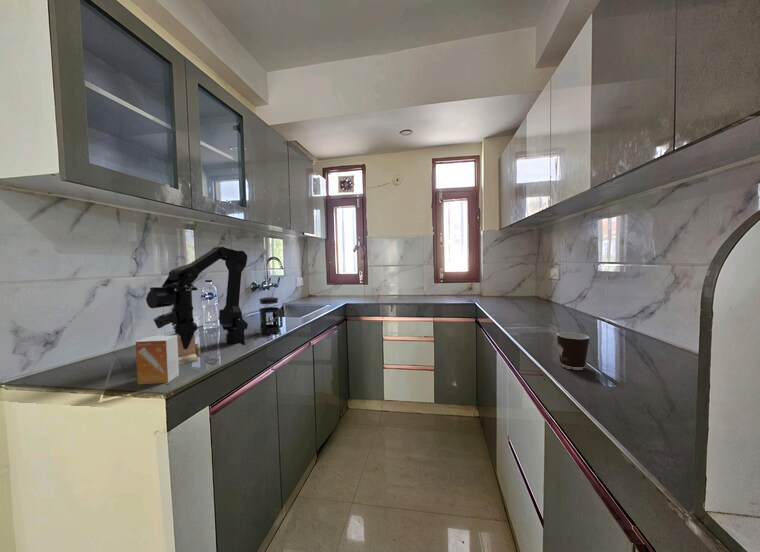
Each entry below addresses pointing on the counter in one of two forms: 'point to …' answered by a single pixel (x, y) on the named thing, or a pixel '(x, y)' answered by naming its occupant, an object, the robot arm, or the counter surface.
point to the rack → (197, 350)
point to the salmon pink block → (186, 351)
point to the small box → (157, 359)
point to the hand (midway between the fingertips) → (185, 347)
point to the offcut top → (187, 358)
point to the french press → (271, 327)
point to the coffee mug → (572, 348)
